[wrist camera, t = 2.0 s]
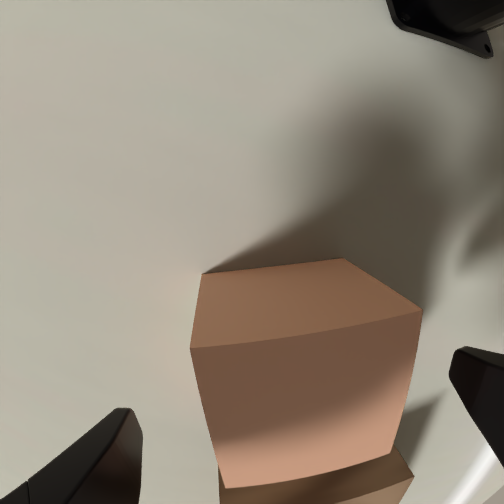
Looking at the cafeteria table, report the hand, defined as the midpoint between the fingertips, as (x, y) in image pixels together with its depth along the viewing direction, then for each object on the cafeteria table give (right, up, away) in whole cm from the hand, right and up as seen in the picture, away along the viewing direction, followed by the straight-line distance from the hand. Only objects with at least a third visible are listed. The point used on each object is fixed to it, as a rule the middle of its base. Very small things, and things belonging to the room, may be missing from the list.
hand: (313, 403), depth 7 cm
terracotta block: (0, +1, +4) cm, 4 cm away
